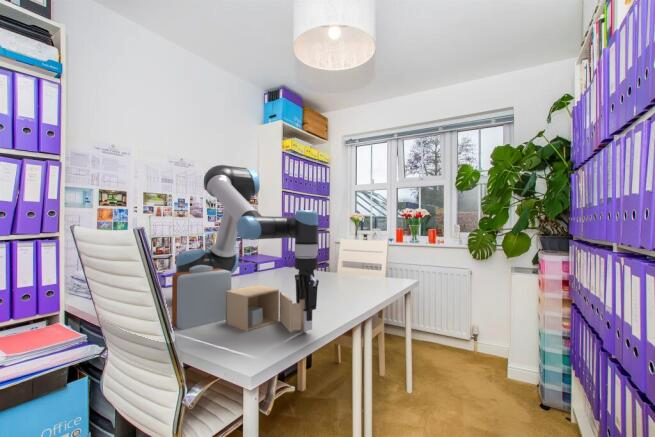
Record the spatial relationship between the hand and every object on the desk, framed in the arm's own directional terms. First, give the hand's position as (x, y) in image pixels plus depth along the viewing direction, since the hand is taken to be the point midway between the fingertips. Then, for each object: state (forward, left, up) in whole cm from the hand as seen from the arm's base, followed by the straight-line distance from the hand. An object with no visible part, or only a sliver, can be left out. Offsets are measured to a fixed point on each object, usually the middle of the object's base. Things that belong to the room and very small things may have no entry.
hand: (305, 328), depth 103 cm
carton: (-21, -6, -2) cm, 22 cm away
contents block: (-21, -6, -1) cm, 21 cm away
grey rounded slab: (-36, -17, -2) cm, 39 cm away
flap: (-7, +1, -1) cm, 7 cm away
